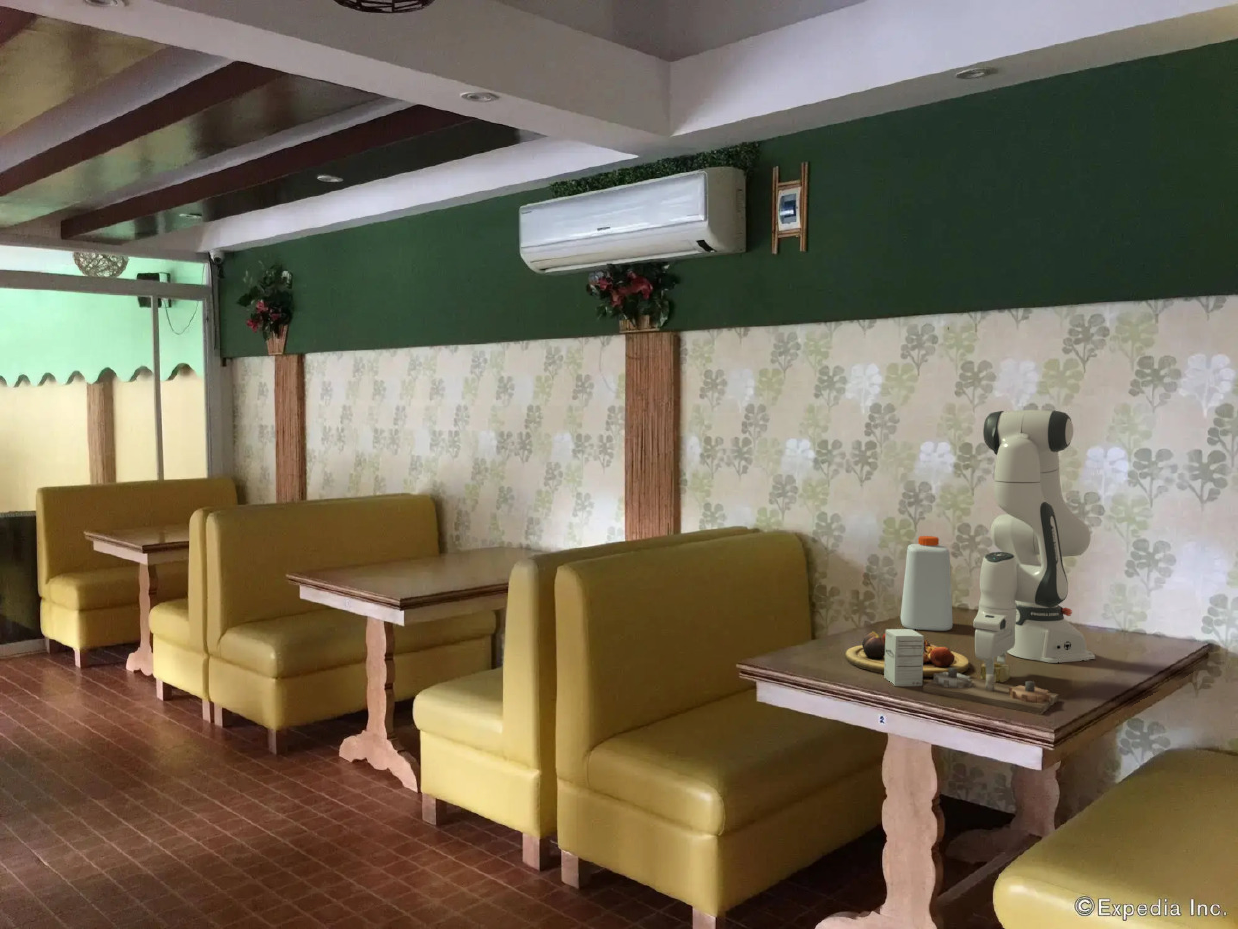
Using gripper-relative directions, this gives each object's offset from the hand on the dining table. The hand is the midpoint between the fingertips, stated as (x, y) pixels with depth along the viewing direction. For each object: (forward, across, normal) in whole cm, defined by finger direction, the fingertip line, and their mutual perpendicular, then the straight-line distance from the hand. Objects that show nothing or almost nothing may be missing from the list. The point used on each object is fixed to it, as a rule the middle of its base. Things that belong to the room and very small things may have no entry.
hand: (995, 671), depth 251 cm
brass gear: (+2, 0, 0) cm, 2 cm away
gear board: (+2, +17, +4) cm, 18 cm away
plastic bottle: (+2, -48, -36) cm, 60 cm away
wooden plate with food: (+2, 0, -23) cm, 23 cm away
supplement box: (+2, +19, -16) cm, 25 cm away
